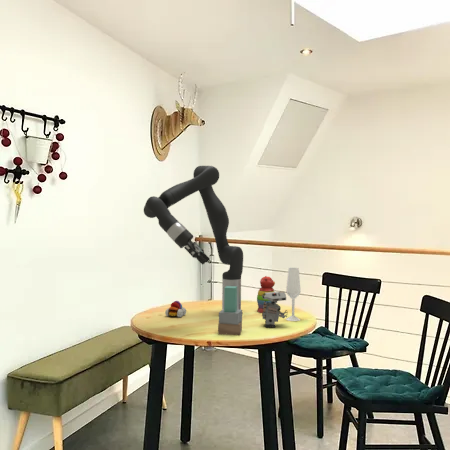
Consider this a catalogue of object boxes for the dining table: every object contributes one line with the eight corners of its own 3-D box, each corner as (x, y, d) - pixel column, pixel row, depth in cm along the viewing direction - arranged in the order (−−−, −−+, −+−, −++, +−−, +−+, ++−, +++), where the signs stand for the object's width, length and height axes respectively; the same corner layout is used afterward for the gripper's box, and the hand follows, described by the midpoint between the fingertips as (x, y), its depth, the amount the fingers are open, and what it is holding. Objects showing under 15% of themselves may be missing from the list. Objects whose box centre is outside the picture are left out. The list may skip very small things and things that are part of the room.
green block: (226, 309, 201) (226, 286, 200) (237, 310, 200) (237, 286, 200) (224, 311, 196) (224, 287, 196) (235, 312, 195) (235, 288, 195)
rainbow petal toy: (163, 317, 225) (163, 302, 225) (171, 313, 234) (171, 298, 234) (180, 318, 223) (180, 303, 223) (187, 314, 232) (187, 299, 232)
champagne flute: (283, 319, 222) (283, 268, 222) (290, 317, 227) (291, 267, 227) (295, 321, 218) (295, 269, 217) (303, 319, 223) (303, 268, 222)
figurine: (288, 328, 205) (288, 293, 204) (261, 327, 206) (262, 293, 205) (287, 323, 214) (287, 290, 214) (261, 323, 215) (262, 289, 214)
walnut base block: (220, 329, 203) (220, 319, 203) (241, 330, 202) (241, 319, 202) (218, 335, 194) (218, 324, 194) (240, 335, 193) (240, 324, 193)
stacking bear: (276, 314, 234) (276, 278, 234) (255, 313, 236) (256, 277, 235) (277, 309, 245) (277, 275, 244) (257, 309, 246) (258, 274, 246)
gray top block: (223, 319, 203) (223, 308, 203) (242, 320, 201) (242, 309, 201) (218, 323, 195) (218, 312, 195) (237, 324, 193) (237, 313, 193)
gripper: (182, 229, 194) (210, 257, 193) (189, 227, 209) (215, 254, 207) (169, 241, 195) (197, 270, 194) (177, 239, 209) (203, 266, 208)
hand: (206, 262), depth 201 cm, fingers open, 8 cm apart
